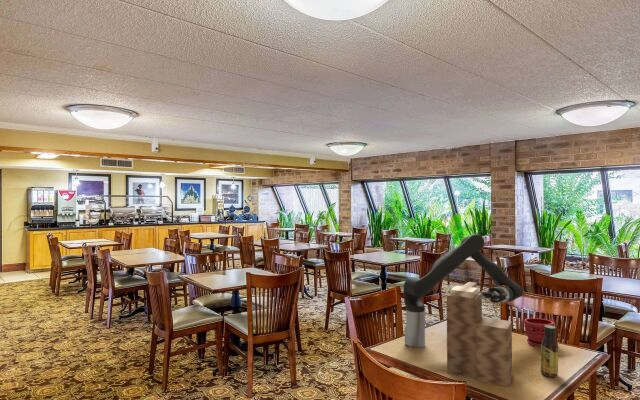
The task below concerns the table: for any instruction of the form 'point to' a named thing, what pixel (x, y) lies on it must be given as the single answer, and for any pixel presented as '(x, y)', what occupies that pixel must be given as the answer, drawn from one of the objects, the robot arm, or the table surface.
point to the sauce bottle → (549, 353)
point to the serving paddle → (465, 290)
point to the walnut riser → (477, 342)
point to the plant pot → (536, 330)
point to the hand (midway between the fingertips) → (483, 296)
